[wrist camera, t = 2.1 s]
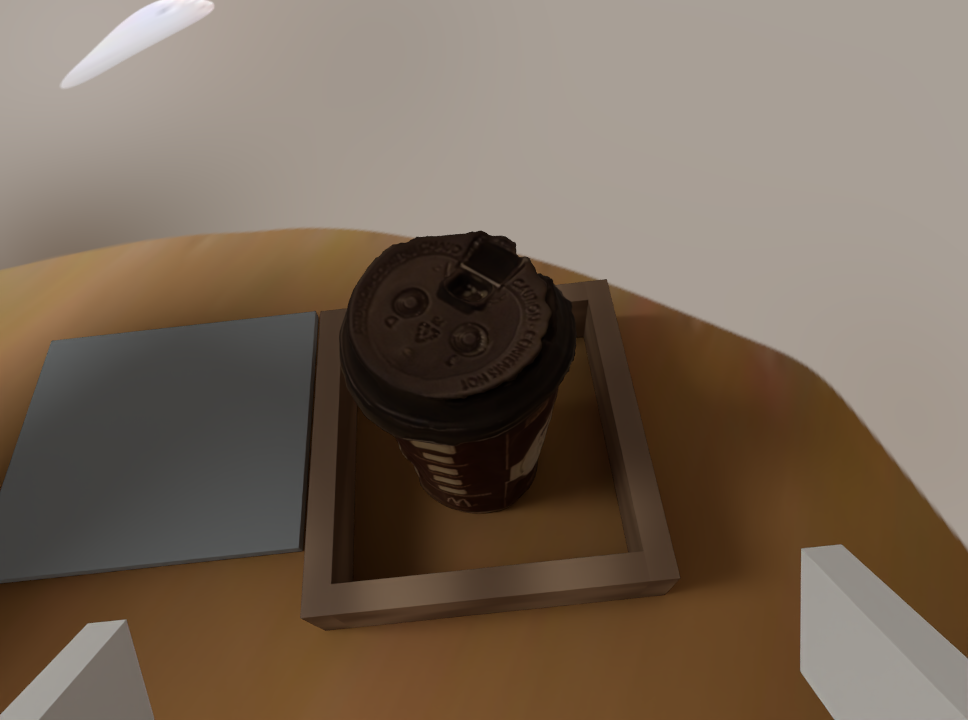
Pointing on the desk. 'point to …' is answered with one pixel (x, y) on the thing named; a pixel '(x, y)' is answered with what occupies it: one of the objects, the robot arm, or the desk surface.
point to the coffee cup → (459, 362)
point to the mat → (162, 449)
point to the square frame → (494, 588)
